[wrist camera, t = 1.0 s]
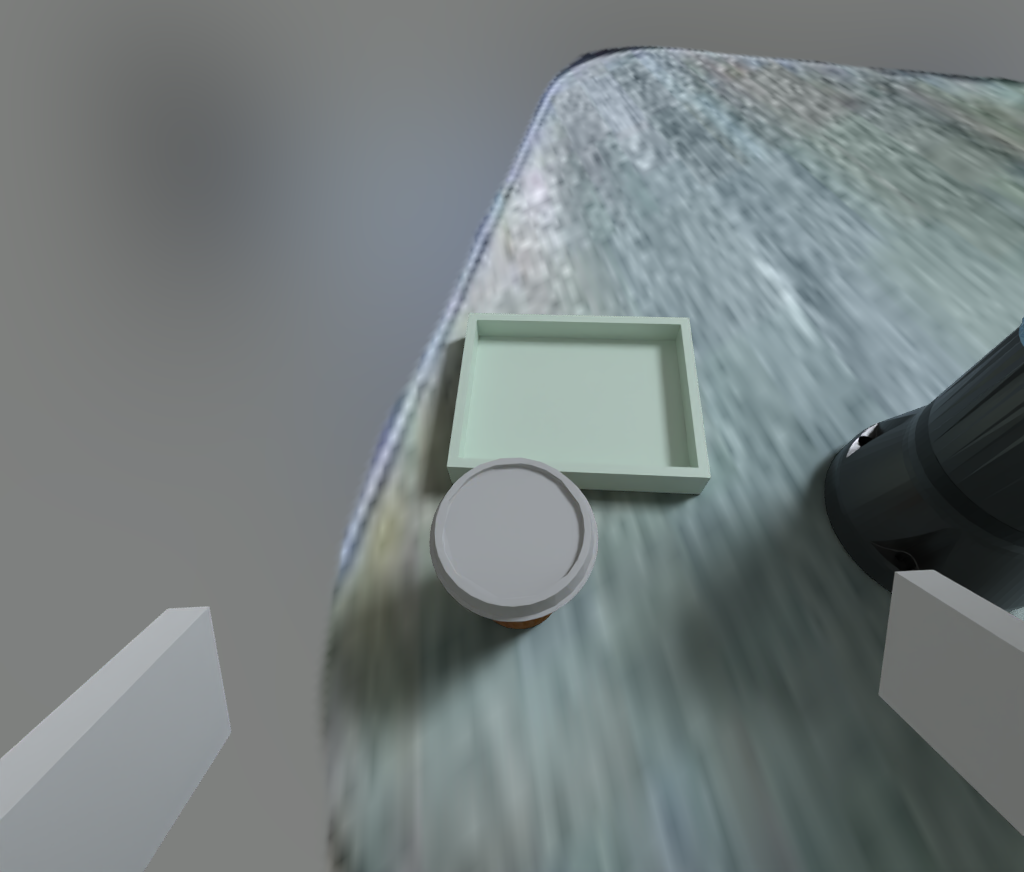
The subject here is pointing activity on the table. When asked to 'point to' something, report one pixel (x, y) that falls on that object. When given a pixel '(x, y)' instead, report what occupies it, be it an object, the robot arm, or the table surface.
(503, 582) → the disposable coffee cup
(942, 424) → the robot arm
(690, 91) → the table surface
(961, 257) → the table surface
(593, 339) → the sage tray
